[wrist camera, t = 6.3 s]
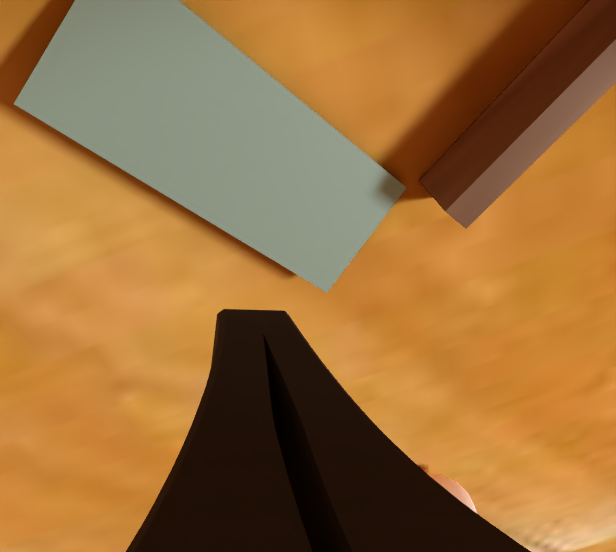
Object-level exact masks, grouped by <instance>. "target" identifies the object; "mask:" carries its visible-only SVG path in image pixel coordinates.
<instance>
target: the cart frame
mask: <svg viewBox="0 0 616 552" xmlns="http://www.w3.org/2000/svg"><path fill="white" fill-rule="evenodd" d="M615 83H616V0H589V1H588V2H587V3H586V4H585V5H584V6H583V7H582V8H581V10H580V11H579V12H578V13H577V14H576V15H575V16H574V17H573V18H572V19H571V20H570V21H569V22H568V23H567V24H566V25H565V26H564V28H563V29H562V30H561V31H560V32H559V33H558V34H557V35H556V36H555V37H554V38H553V39H552V40H551V41H550V42H549V43H548V44H547V46H546V47H545V48H544V49H543V50H542V51H541V52H540V53H539V54H538V55H537V56H536V57H535V58H534V59H533V60H532V61H531V62H530V64H529V65H528V66H527V67H526V68H525V69H524V70H523V71H522V72H521V73H520V74H519V75H518V76H517V77H516V78H515V79H514V80H513V82H512V83H511V84H510V85H509V86H508V87H507V88H506V89H505V90H504V91H503V92H502V93H501V94H500V95H499V96H498V97H497V98H496V100H495V101H494V102H493V103H492V104H491V105H490V106H489V107H488V108H487V109H486V110H485V111H484V112H483V113H482V114H481V115H480V116H479V118H478V119H477V120H476V121H475V122H474V123H473V124H472V125H471V126H470V127H469V128H468V129H467V130H466V131H465V132H464V133H463V134H462V136H461V137H460V138H459V139H458V140H457V141H456V142H455V143H454V144H453V145H452V146H451V147H450V148H449V149H448V150H447V151H446V152H445V154H444V155H443V156H442V157H441V158H440V159H439V160H438V161H437V162H436V163H435V164H434V165H433V166H432V167H431V168H430V169H429V170H428V172H427V173H426V174H425V175H424V176H423V177H422V178H421V179H420V180H419V182H420V183H421V184H422V185H423V186H424V187H425V189H426V190H427V191H428V192H429V193H430V194H431V196H432V197H433V198H434V199H435V200H436V201H437V202H438V204H439V205H440V206H441V207H442V208H443V209H444V211H445V212H447V213H448V214H449V215H450V216H451V217H453V218H454V219H455V220H456V221H457V222H459V223H460V224H461V225H462V226H463V227H465V228H467V227H468V226H469V225H470V224H471V223H472V222H474V221H475V220H476V219H477V218H478V217H479V216H480V215H481V214H482V213H483V212H484V211H485V210H486V209H487V208H488V207H489V206H490V205H491V204H492V203H493V202H494V201H495V200H496V199H497V198H498V197H499V196H500V195H501V194H502V193H503V192H504V191H505V190H506V189H507V188H508V187H509V186H510V185H511V184H512V183H513V182H514V181H515V180H517V179H518V178H519V177H520V176H521V175H522V174H523V173H524V172H525V171H526V170H527V169H528V168H529V167H530V166H531V165H532V164H533V163H534V162H535V161H536V160H537V159H538V158H539V157H540V156H541V155H542V154H543V153H544V152H545V151H546V150H547V149H548V148H549V147H550V146H551V145H552V144H553V143H554V142H555V141H556V140H557V139H558V138H559V137H561V136H562V135H563V134H564V133H565V132H566V131H567V130H568V129H569V128H570V127H571V126H572V125H573V124H574V123H575V122H576V121H577V120H578V119H579V118H580V117H581V116H582V115H583V114H584V113H585V112H586V111H587V110H588V109H589V108H590V107H591V106H592V105H593V104H594V103H595V102H596V101H597V100H598V99H599V98H600V97H601V96H602V95H604V94H605V93H606V92H607V91H608V90H609V89H610V88H611V87H612V86H613V85H614V84H615Z"/></svg>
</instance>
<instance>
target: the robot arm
mask: <svg viewBox="0 0 616 552" xmlns="http://www.w3.org/2000/svg"><path fill="white" fill-rule="evenodd" d="M126 552H531V551H529V550H528V549H526V548H525V547H523V546H522V545H520V544H519V543H517V542H516V541H514V540H513V539H512V538H510V537H509V536H507V535H506V534H505V533H503V532H502V531H500V530H499V529H498V528H496V527H495V526H493V525H492V524H490V523H489V522H488V521H486V520H485V519H483V518H482V517H481V516H479V515H478V514H477V513H475V512H474V511H473V510H471V509H470V508H469V507H467V506H466V505H465V504H464V503H462V502H461V501H460V500H458V499H457V498H456V497H455V496H454V495H452V494H451V493H450V492H449V491H447V490H446V489H445V488H444V487H443V486H441V485H440V484H439V483H438V482H436V481H435V480H434V479H433V478H431V477H430V476H429V475H428V474H427V473H426V472H424V471H423V470H422V469H421V468H420V467H419V466H418V465H416V464H415V463H414V462H413V461H412V460H411V459H410V458H409V457H408V456H407V455H406V454H404V453H403V452H402V451H401V450H400V449H399V448H398V447H397V446H396V445H395V444H394V443H393V442H392V441H391V440H390V439H389V438H388V437H387V436H386V435H385V434H384V433H383V432H382V431H381V430H380V429H379V428H378V427H377V426H376V425H375V424H374V423H373V422H372V421H371V420H370V419H369V417H368V416H367V415H366V414H365V413H364V412H363V411H362V410H361V409H360V407H359V406H358V405H357V404H356V403H355V402H354V401H353V399H352V398H351V397H350V396H349V395H348V394H347V392H346V391H345V390H344V389H343V388H342V386H341V385H340V384H339V383H338V381H337V380H336V379H335V378H334V376H333V375H332V374H331V373H330V371H329V370H328V369H327V368H326V366H325V365H324V364H323V362H322V361H321V360H320V358H319V357H318V356H317V354H316V353H315V352H314V350H313V349H312V348H311V346H310V345H309V343H308V342H307V341H306V339H305V338H304V336H303V335H302V334H301V332H300V331H299V329H298V328H297V326H296V325H295V324H294V322H293V321H292V319H291V318H290V316H289V315H288V314H287V313H286V312H285V311H273V310H235V309H223V310H222V311H221V312H219V313H218V314H217V321H216V330H215V338H214V347H213V356H212V364H211V370H210V374H209V378H208V381H207V385H206V388H205V391H204V393H203V396H202V399H201V402H200V404H199V407H198V410H197V412H196V415H195V418H194V420H193V423H192V425H191V428H190V430H189V433H188V435H187V437H186V440H185V442H184V444H183V446H182V449H181V451H180V453H179V455H178V457H177V459H176V461H175V464H174V466H173V468H172V470H171V472H170V474H169V476H168V478H167V480H166V481H165V483H164V485H163V487H162V489H161V491H160V493H159V495H158V497H157V499H156V501H155V503H154V504H153V506H152V508H151V510H150V512H149V514H148V515H147V517H146V519H145V521H144V522H143V524H142V526H141V528H140V529H139V531H138V532H137V534H136V536H135V537H134V539H133V541H132V542H131V544H130V546H129V547H128V549H127V551H126Z"/></svg>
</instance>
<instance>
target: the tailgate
mask: <svg viewBox="0 0 616 552" xmlns="http://www.w3.org/2000/svg"><path fill="white" fill-rule="evenodd" d="M14 105H16V106H18V107H19V108H21V109H23V110H24V111H26V112H28V113H29V114H31V115H33V116H34V117H36V118H38V119H39V120H41V121H43V122H44V123H46V124H48V125H49V126H51V127H53V128H54V129H56V130H57V131H59V132H61V133H62V134H64V135H66V136H67V137H69V138H71V139H72V140H74V141H76V142H77V143H79V144H81V145H82V146H84V147H86V148H87V149H89V150H91V151H92V152H94V153H96V154H97V155H99V156H101V157H102V158H104V159H106V160H107V161H109V162H111V163H112V164H114V165H116V166H117V167H119V168H121V169H122V170H124V171H126V172H127V173H129V174H131V175H132V176H134V177H136V178H137V179H139V180H141V181H142V182H144V183H146V184H147V185H149V186H150V187H152V188H154V189H155V190H157V191H159V192H160V193H162V194H164V195H165V196H167V197H169V198H170V199H172V200H174V201H175V202H177V203H179V204H180V205H182V206H184V207H185V208H187V209H189V210H190V211H192V212H194V213H195V214H197V215H199V216H200V217H202V218H204V219H205V220H207V221H209V222H210V223H212V224H214V225H215V226H217V227H219V228H220V229H222V230H224V231H225V232H227V233H229V234H230V235H232V236H234V237H235V238H237V239H239V240H240V241H242V242H244V243H245V244H247V245H248V246H250V247H252V248H253V249H255V250H257V251H258V252H260V253H262V254H263V255H265V256H267V257H268V258H270V259H272V260H273V261H275V262H277V263H278V264H280V265H282V266H283V267H285V268H287V269H288V270H290V271H292V272H293V273H295V274H297V275H298V276H300V277H302V278H303V279H305V280H307V281H308V282H310V283H312V284H313V285H315V286H317V287H318V288H320V289H322V290H323V291H325V292H328V291H329V289H330V288H331V287H332V285H333V284H334V283H335V282H336V280H337V279H338V278H339V276H340V275H341V274H342V272H343V271H344V270H345V268H346V267H347V266H348V264H349V263H350V262H351V260H352V259H353V258H354V257H355V255H356V254H357V253H358V251H359V250H360V249H361V247H362V246H363V245H364V243H365V242H366V241H367V239H368V238H369V237H370V236H371V234H372V233H373V232H374V230H375V229H376V228H377V226H378V225H379V224H380V222H381V221H382V220H383V218H384V217H385V216H386V215H387V213H388V212H389V211H390V209H391V208H392V207H393V205H394V204H395V203H396V201H397V200H398V199H399V197H400V196H401V195H402V193H403V192H404V191H405V190H406V188H407V187H405V186H404V185H403V184H402V183H400V182H399V181H398V180H397V179H396V178H394V177H393V176H392V175H391V174H389V173H388V172H387V171H386V170H385V169H383V168H382V167H381V166H380V165H379V164H377V163H376V162H375V161H374V160H372V159H371V158H370V157H369V156H368V155H366V154H365V153H364V152H363V151H361V150H360V149H359V148H358V147H357V146H355V145H354V144H353V143H352V142H351V141H349V140H348V139H347V138H346V137H344V136H343V135H342V134H341V133H340V132H338V131H337V130H336V129H335V128H333V127H332V126H331V125H330V124H329V123H327V122H326V121H325V120H324V119H323V118H321V117H320V116H319V115H318V114H316V113H315V112H314V111H313V110H312V109H310V108H309V107H308V106H307V105H305V104H304V103H303V102H302V101H301V100H299V99H298V98H297V97H296V96H295V95H293V94H292V93H291V92H290V91H288V90H287V89H286V88H285V87H284V86H282V85H281V84H280V83H279V82H277V81H276V80H275V79H274V78H273V77H271V76H270V75H269V74H268V73H267V72H265V71H264V70H263V69H262V68H260V67H259V66H258V65H257V64H256V63H254V62H253V61H252V60H251V59H249V58H248V57H247V56H246V55H245V54H243V53H242V52H241V51H240V50H239V49H237V48H236V47H235V46H234V45H232V44H231V43H230V42H229V41H228V40H226V39H225V38H224V37H223V36H221V35H220V34H219V33H218V32H217V31H215V30H214V29H213V28H212V27H210V26H209V25H208V24H207V23H206V22H204V21H203V20H202V19H201V18H200V17H198V16H197V15H196V14H195V13H193V12H192V11H191V10H190V9H189V8H187V7H186V6H185V5H184V4H182V3H181V2H180V1H179V0H75V1H74V3H73V5H72V6H71V8H70V10H69V11H68V13H67V15H66V16H65V18H64V20H63V21H62V23H61V25H60V27H59V28H58V30H57V32H56V33H55V35H54V37H53V38H52V40H51V42H50V43H49V45H48V47H47V48H46V50H45V52H44V54H43V55H42V57H41V59H40V60H39V62H38V64H37V65H36V67H35V69H34V70H33V72H32V74H31V75H30V77H29V79H28V81H27V82H26V84H25V86H24V87H23V89H22V91H21V92H20V94H19V96H18V97H17V99H16V101H15V102H14Z"/></svg>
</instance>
